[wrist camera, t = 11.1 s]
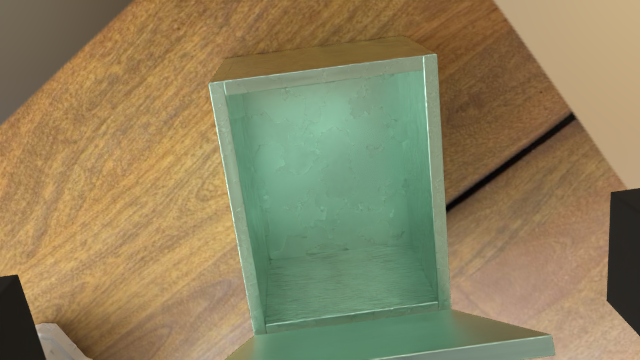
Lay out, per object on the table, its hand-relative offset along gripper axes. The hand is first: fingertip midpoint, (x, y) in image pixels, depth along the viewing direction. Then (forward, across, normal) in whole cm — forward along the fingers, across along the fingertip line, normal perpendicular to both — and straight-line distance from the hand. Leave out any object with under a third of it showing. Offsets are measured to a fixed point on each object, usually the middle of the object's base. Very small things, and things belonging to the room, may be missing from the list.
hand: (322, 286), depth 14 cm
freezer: (+35, +1, -8) cm, 36 cm away
